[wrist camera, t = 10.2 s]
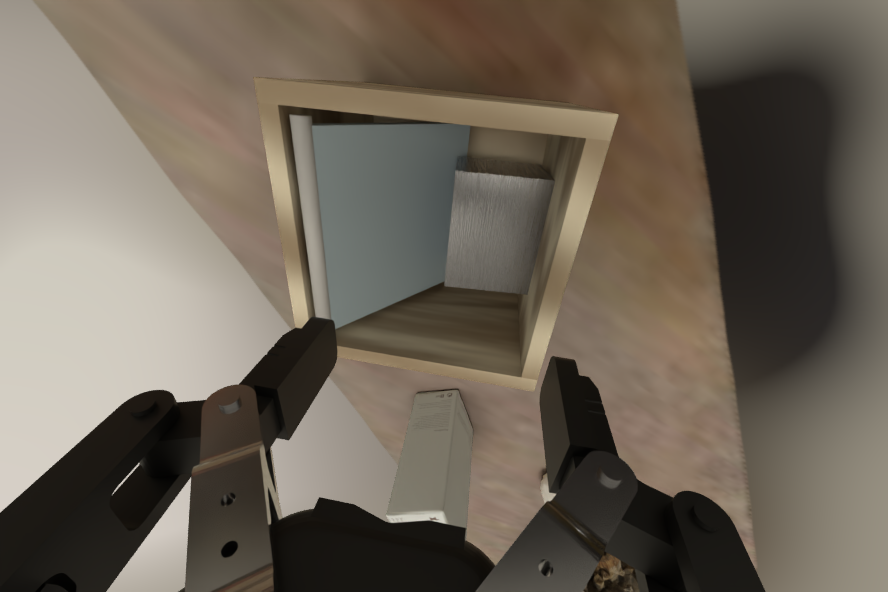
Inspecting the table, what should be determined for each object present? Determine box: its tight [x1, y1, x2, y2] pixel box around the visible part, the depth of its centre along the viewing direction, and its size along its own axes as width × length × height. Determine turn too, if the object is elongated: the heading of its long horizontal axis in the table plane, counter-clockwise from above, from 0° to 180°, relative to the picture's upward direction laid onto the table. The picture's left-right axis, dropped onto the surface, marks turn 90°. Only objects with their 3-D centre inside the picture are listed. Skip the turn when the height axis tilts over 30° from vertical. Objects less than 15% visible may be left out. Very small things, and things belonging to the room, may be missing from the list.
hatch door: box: [289, 114, 470, 329], centre depth 24 cm, size 13×13×1 cm
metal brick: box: [444, 156, 555, 295], centre depth 25 cm, size 8×5×6 cm
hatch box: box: [253, 77, 619, 391], centre depth 25 cm, size 16×16×14 cm
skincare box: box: [386, 390, 473, 540], centre depth 39 cm, size 8×6×15 cm
